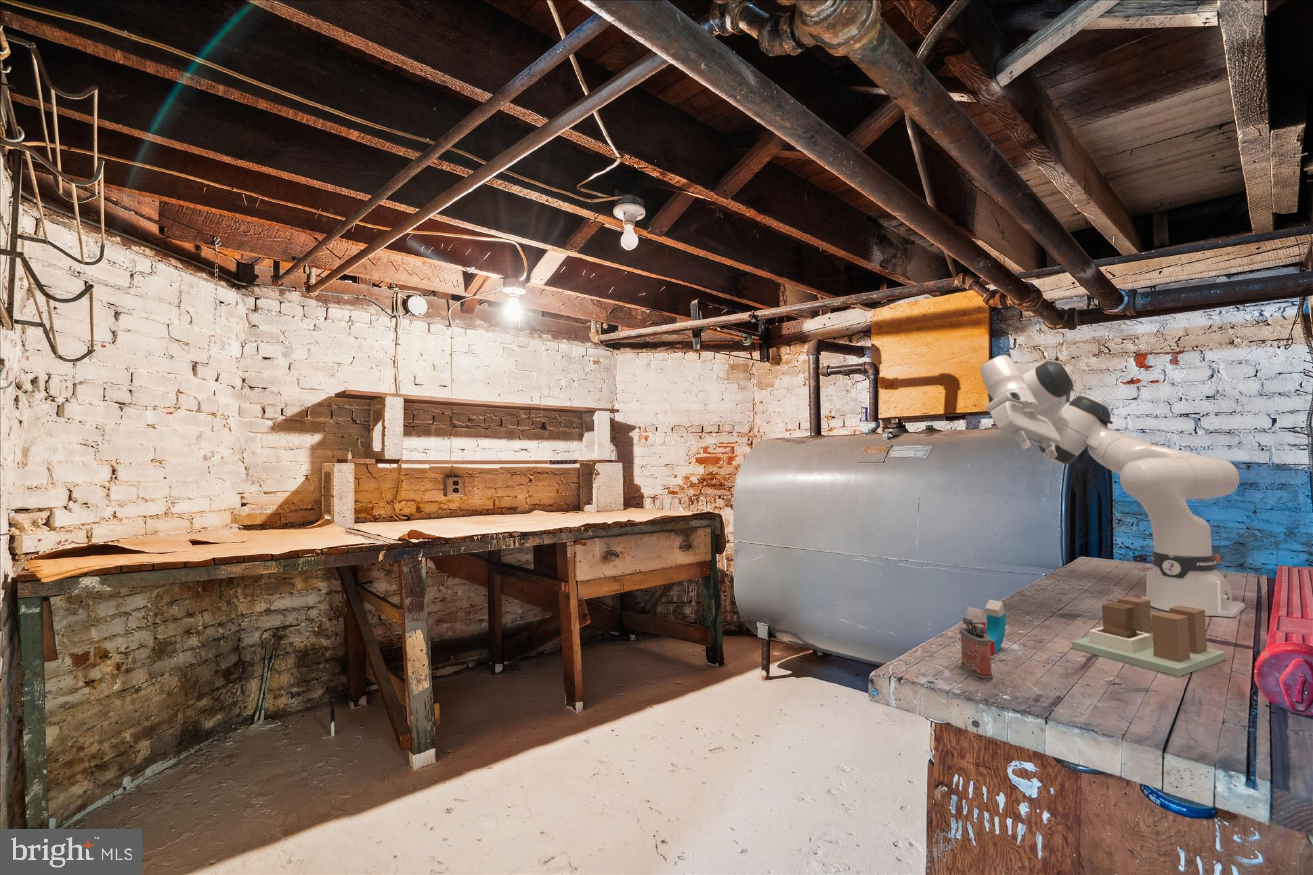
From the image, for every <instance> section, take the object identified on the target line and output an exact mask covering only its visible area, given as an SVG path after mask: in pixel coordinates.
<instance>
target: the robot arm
mask: <svg viewBox="0 0 1313 875" xmlns="http://www.w3.org/2000/svg"><path fill="white" fill-rule="evenodd" d="M979 368H980V369H979V371H980V376H981V378H982V382H983V385H984V388H985V389H986V391H987V397H988V401H989V402H988V403H987V404H985V409H986V410H987V412H988V413H990V416H991V418H992V420H993V422H994V424H995V425H996V427H997V428H998V430H1000V431H1001V432H1003V433H1004V434H1007V435H1010V436H1012V437H1013V438H1014V440H1016V441H1017V443H1018V444H1019V445H1020V446H1021V449H1022V450H1024V451H1030V450H1032V449H1033V448H1034V445H1033V444H1036V445H1037V446H1038V449H1039V451H1040V452H1041V453H1042V454H1043V456H1044V457H1045V458H1047V459H1048V460H1049V461H1051V462H1053V463H1057V464H1064V465H1070V464H1072V463H1073V462H1074V461H1075V460H1077V458H1078V456H1079V455H1080V454H1081V453H1082V452H1083V451H1084V450H1085V449H1086V448H1087V451H1088V454H1089V455H1090V456H1091V458H1092V459H1094V460H1095V461H1096V462H1097V463H1099V464H1100V465H1102V466H1103V467H1105V468H1106V469H1107V470H1110V471H1112V472H1114V473H1116V474H1118V475H1119V481H1120V482H1119V483H1120V485H1121V488H1122V489H1123V491H1124V492H1125V493H1126V494H1127V495H1128V496H1130V497H1132V498H1133V499H1134V500H1136V501H1137V502H1138V503H1139V504H1140V505H1141V506H1142V507H1143V509H1144V510H1145V512H1146V514H1147V517H1148V518H1149V521H1150V525H1151V531H1152V543H1153V550H1152V551H1151V564H1152V565H1153V567H1152V568H1151V569H1149V570H1148V571H1147V572H1146V573H1147V574H1146V595H1145V596H1141V597H1140V598H1141V599H1146V600H1150V607H1153V608H1155V609H1158V610H1161V611H1162V610H1163V611H1165V612H1166V611H1167V612H1170V611H1169V608H1172V607H1175V606H1179V605H1180V606H1186V607H1191V608H1197V609H1203V610H1205V616H1206V617H1207V616H1210V617H1212V616H1213V617H1215V616H1217V617H1224V618H1225V617H1227V618H1236V617H1237V616H1238V615H1239V614H1240V613H1241V612H1242V611H1243V610H1244V609H1245V608H1246V605H1245V604H1246V603H1244V602H1241V601H1238V600H1235V599H1233V593H1232V592H1233V591H1232V585H1231V583H1230V582H1229V581H1227V579H1226V578H1225V577H1224V576H1223V575H1222V574H1221V573H1220V572H1219V571H1218V570H1217V569H1218V565H1217V564H1218V563H1219V562H1220V559H1221V558H1220V555H1219V554H1213V551H1212V534H1211V526H1210V525H1209V523H1208V522H1207V521H1206V520H1205V519H1203V518H1202V517H1200V516H1199V515H1198V516H1197V515H1195V514H1194V513H1193V512H1192V511H1191V509H1190V507H1189V505H1188V502H1187V500H1210V499H1215V498H1216V499H1217V498H1219V497H1223V496H1228V495H1230V494H1232V493H1234V492H1235V490H1237V488H1238V486H1239V484H1240V474H1239V471H1238V469H1237V468H1236V466H1235V465H1234V464H1233V463H1232V462H1231V461H1229V460H1227V459H1224V458H1216V457H1210V456H1206V455H1202V454H1196V453H1192V452H1187V451H1183V450H1179V449H1174V448H1169V447H1164V446H1161V445H1160V446H1159V445H1155V444H1152V443H1150V442H1147V441H1145V440H1142V439H1140V438H1136V437H1135V436H1131V435H1129V434H1125V433H1121V432H1117V431H1114V430H1112V429H1111V428H1109V427H1108V424H1109V425H1113V424H1114V422H1113V421H1112V420H1111V416H1112V415H1111V412H1110V410H1109V408H1108V407H1107V406H1106V405H1105V403H1103V402H1102V401H1101V400H1100V399H1097V398H1095V397H1092V396H1084V395H1079V396H1076V397H1074V398H1073V399H1072V400H1071V393H1072V392H1073V388H1074V380H1073V377H1072V374H1071V372H1070V371H1069V369H1068V368H1067V367H1066V366H1064V364H1062V363H1060V362H1057V361H1053V360H1052V361H1051V360H1046V361H1045V362H1043V363H1041V364H1039V365H1038V366H1036V367H1034V368H1033V369H1030V370H1029V371H1027V372H1024V373H1022V372H1021V370H1020V368H1019V367H1018V366H1017V365H1016V363H1015V362H1014V361H1013V359H1012V358H1011V357H1010V356H1008V355H1004V354H1002V355H997V356H995V357H992V358H990V359H988V360H986V361H985V362H984V363H983V364H982V365H981V366H980V367H979ZM1070 400H1071V401H1070ZM1067 404H1068V406H1066V405H1067ZM1065 406H1066V408H1064V407H1065ZM1063 408H1064V409H1063ZM1062 410H1063V411H1062Z"/></svg>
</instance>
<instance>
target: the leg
mask: <svg viewBox="0 0 1313 875" xmlns="http://www.w3.org/2000/svg"><path fill="white" fill-rule="evenodd" d="M1101 612H1102V615H1101V616H1102V627H1103V633H1106V634H1111V635H1115V636H1119V637H1123V638H1128V639H1130V638H1133V637H1137V631H1136V613H1135V606H1131V605H1126V604H1120V603H1118V602H1115V601H1111V602H1106V603H1103V604H1101Z"/></svg>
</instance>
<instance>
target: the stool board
mask: <svg viewBox="0 0 1313 875" xmlns="http://www.w3.org/2000/svg"><path fill="white" fill-rule="evenodd" d="M1117 603H1120V604H1126V605H1131V606H1135V613H1136V631H1137V637H1133V638H1130V639H1128V638H1123V637H1119V636H1115V635H1111V634H1106V633H1103V626H1099V627H1096V628H1092V629H1090V630H1088V636H1087V637H1083V638H1082V637H1081V638H1079V639H1076V640H1072V641H1071V649H1072V650H1076V651H1080V652H1084V653H1088V654H1092V655H1096V656H1099V657H1103V658H1107V659H1109V660H1113V661H1117V662H1120V663H1124V664H1128V665H1132V666H1136V667H1139V668H1143V669H1147V670H1150V669H1152V670H1151V671H1154V670H1156V671H1155V672H1158V671H1160V672H1159V673H1161V672H1164V673H1163V674H1165V673H1168V674H1167V675H1169V674H1170V675H1169V676H1173V675H1175V676H1174V677H1176V676H1178V678H1181V677H1183V676H1182V675H1184V676H1186V675H1188V674H1187V673H1189V674H1191V673H1190V672H1192V673H1194V672H1197V671H1199V669H1200V670H1202V669H1205V668H1208V667H1211V666H1213V665H1215V664H1218V663H1221V662H1223V660H1224V661H1226V660H1227V657H1226V656H1227V655H1226V651H1223V650H1218V649H1214V648H1209V647H1208V643H1207V641H1208V640H1207V624H1206V615H1205V610H1203V609H1197V608H1191V607H1186V606H1180V605H1179V606H1175V607H1172V608H1169V611H1167V612H1166V611H1159V612H1155V613H1152V612H1151V606H1150V600H1146V599H1141V597H1140V598H1139V597H1136V596H1135V597H1133V596H1128V595H1127V596H1123V597H1119V598H1118V597H1117ZM1196 670H1197V671H1196ZM1193 671H1194V672H1193ZM1185 674H1186V675H1185ZM1180 676H1181V677H1180Z"/></svg>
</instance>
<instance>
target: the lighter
mask: <svg viewBox="0 0 1313 875" xmlns="http://www.w3.org/2000/svg"><path fill="white" fill-rule="evenodd" d="M962 623H963V624H964V625H965V627H964V626H963V627H962V626H961V627H959V633H960V644H961V662H960V667H961V668H962V670H963V669H964V672H965V673H967V674H968V673H969V674H968V675H970V676H971V675H972V678H975V677H976V678H975V679H977V678H978V679H977V680H979V679H981V680H980V681H982V680H985V681H984V682H992V681H994V677H993V674H992V657H991V654H990V644H991V638H990V637H988V636H987V635H986V634H984V632H985V629H984V626H983V625H982V624H981V622H980V621H979V620H973V619H972V618H970V617H968V616H967V615H966V616H963V617H962ZM966 625H968V626H967V627H966ZM991 680H992V681H991Z"/></svg>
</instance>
